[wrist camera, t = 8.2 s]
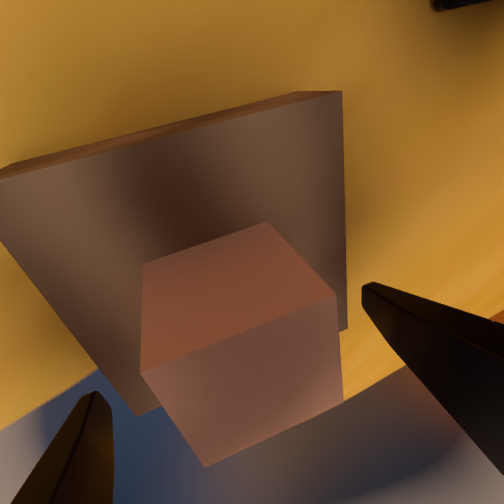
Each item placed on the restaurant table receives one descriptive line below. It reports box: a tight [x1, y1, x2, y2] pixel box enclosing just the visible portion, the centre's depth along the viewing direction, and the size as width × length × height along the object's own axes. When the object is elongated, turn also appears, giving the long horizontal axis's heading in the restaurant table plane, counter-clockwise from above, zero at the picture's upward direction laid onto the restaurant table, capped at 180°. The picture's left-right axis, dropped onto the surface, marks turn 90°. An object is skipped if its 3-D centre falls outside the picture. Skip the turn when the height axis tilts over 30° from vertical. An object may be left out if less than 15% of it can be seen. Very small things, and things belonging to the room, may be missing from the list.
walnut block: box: [0, 91, 348, 416], centre depth 14 cm, size 12×12×4 cm
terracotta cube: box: [140, 221, 344, 467], centre depth 10 cm, size 5×5×5 cm
